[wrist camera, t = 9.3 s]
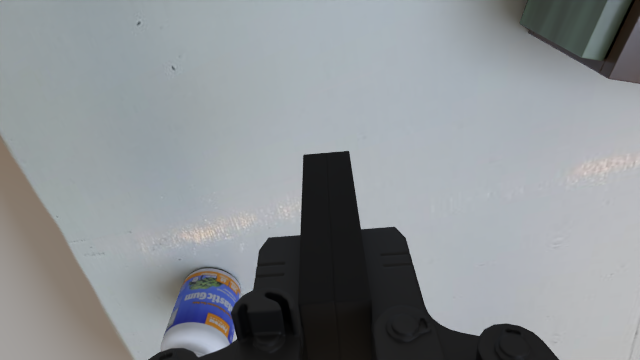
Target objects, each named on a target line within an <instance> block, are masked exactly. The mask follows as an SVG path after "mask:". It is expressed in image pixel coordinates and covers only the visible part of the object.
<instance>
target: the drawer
mask: <svg viewBox="0 0 640 360" xmlns="http://www.w3.org/2000/svg"><path fill="white" fill-rule="evenodd" d="M634 2H635V0H528V2H527V4H526V7H525V10H524V13H523V15H522V18H521V21H520V24H521V25H523V26H525V27H526V28H528V29H530V30H532V31H534V32H535V33H537V34H539V35H541V36H543V37H545V38H546V39H548V40H550V41H552V42H554V43H556V44H557V45H559V46H561V47H563V48H565V49H567V50H568V51H570V52H572V53H574V54H576V55H578V56H579V57H581V58H587V59H593V60H599V61H603V60H604V58H605V56H606V54H607V52H608V50H609V48H610V46H611V44H612V42H615V41H616V39H617V37H618V35H619V33H620V31H621V29H622V26H623V24H624V22H625V20H626V18H627V16H628V14H629V12H630V10H631V8H632V6H633V4H634Z"/></svg>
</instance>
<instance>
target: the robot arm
mask: <svg viewBox="0 0 640 360" xmlns="http://www.w3.org/2000/svg"><path fill="white" fill-rule="evenodd" d="M231 316H232V320H233V324H234V328H235V332H236V335H237V340H236V341H234V342H233V343H231V344H230V345H228V346H227V347H224V348H222V349H220V350H218V351H215V352H212V353H209V354H206V355H204V356H201V357H198V356H197V355H196V354H195V353H194V352H193V351H191V350H188V349H185V348H171V349H168V350H165V351H162V352H159V353H157V354H156V355H155V356H153V357H152V358H150V359H149V360H559V359H558V358H557V357H556V356H555V354H554V353H553V352H552V351H551V350H550V349H549V347H548V346H547V345H546V344H545V343H544V342H543V341H542V340H541V339H540V338H539V337H538V336H537V335H535V334H534V333H533V332H531V331H529V330H527V329H525V328H523V327H521V326H517V325H511V324H497V325H493V326H491V327H489V328H487V329H485V330H484V331H483V332H482V334H481V335H480V336H475V335H470V334H465V333H460V332H457V331H453V330H450V329H448V328H446V327H444V326H442V325H440V324H439V323H438V322H436V321H435V320H434V319H433V318H432V317H431V316H430V315H429V313H428V312H427V310H426V307H425V305H424V301H423V298H422V294H421V291H420V287H419V284H418V280H417V277H416V273H415V270H414V266H413V263H412V259H411V255H410V253H409V248H408V245H407V241H406V238H405V237H404V236H403V235H402V234H401V233H400V232H399V231H398V230H397V229H396V228H395V227H387V228H374V229H361V227H360V221H359V214H358V207H357V201H356V194H355V188H354V181H353V174H352V168H351V161H350V154H349V151H344V152H332V153H320V154H307V155H304V156H303V183H302V210H301V235H298V236H285V237H272V238H268V239H267V241H266V242H265V243H264V245H263V246H262V247H261V249H260V250H259V256H258V263H257V269H256V278H255V282H254V288H253V291H251V292H249V293H247V294H245V295H243V296H242V297H241V298H240V299H239V300H238V301H237V302H236V303H235V305H234V307H233V309H232V311H231Z"/></svg>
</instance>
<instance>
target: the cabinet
mask: <svg viewBox="0 0 640 360" xmlns="http://www.w3.org/2000/svg"><path fill="white" fill-rule="evenodd" d="M528 33H529V34H531V35H533V36H534V37H536V38H538V39H540V40H542V41H543V42H545V43H547V44H549V45H550V46H552V47H554V48H556V49H557V50H559V51H561V52H563V53H564V54H566V55H568V56H570V57H571V58H573V59H575V60H577V61H579V62H580V63H582V64H584V65H586V66H587V67H589V68H591V69H593V70H594V71H596V72H598V73H600V74H601V75H603V76H604V77H606V78H608V79H613V80H619V81H626V82H632V83H638V84H640V0H635V2H634V4H633V6H632V8H631V10H630V12H629V14H628V16H627V18H626V20H625V22H624V24H623V26H622V29H621V31H620V33H619V35H618V37H617V39H616V41H615V42H612V44H611V46H610V48H609V50H608V52H607V54H606V56H605V58H604V60H603V61H599V60H593V59H587V58H581V57H579V56H578V55H576V54H574V53H572V52H570V51H568V50H567V49H565V48H563V47H561V46H559V45H557V44H556V43H554V42H552V41H550V40H548V39H546V38H545V37H543V36H541V35H539V34H537V33H535V32H534V31H532V30H530V29H529V31H528Z"/></svg>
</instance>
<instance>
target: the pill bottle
mask: <svg viewBox="0 0 640 360" xmlns="http://www.w3.org/2000/svg"><path fill="white" fill-rule="evenodd" d="M240 298H241V287H240V285H239V283H238V281H237V280H236V279H235V278H234V277H233V276H231V275H230V274H228V273H227V272H224V271H222V270H219V269H213V268H205V269H200V270H197V271H195V272H193V273H191V274H190V275H189V276H188V277H187V278H186V279H185V281H184V283H183V285H182V287H181V290H180V292H179V295H178V298H177V301H176V303H175V306H174V309H173V312H172V314H171V317H170V320H169V323H168V326H167V328H166V331H165V334H164V337H163V340H162V343H161V352H162V351H165V350H168V349H171V348H185V349H188V350H191V351H193V352H194V353H195V354H196V355H197V356H198V357H201V356H204V355H206V354H209V353H212V352H215V351H218V350H220V349H222V348H224V347H227V346H228V345H230V344H231V343H232V340H233V335H234V330H235V328H234V324H233V320H232V316H231V311H232V309H233V307H234V305H235V303H236V302H237V301H238V300H239V299H240Z"/></svg>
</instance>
